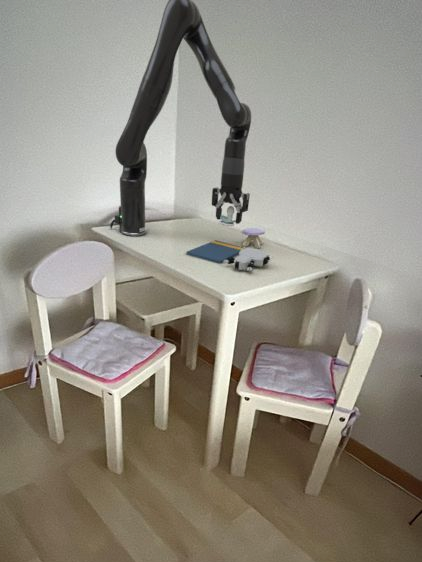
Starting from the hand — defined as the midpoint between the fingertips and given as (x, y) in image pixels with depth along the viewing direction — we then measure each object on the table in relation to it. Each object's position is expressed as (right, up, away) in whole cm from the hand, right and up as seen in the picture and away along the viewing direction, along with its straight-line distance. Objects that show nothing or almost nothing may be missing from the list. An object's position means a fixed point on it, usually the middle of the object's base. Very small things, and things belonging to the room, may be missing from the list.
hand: (228, 221), depth 155 cm
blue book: (-4, -11, +1) cm, 12 cm away
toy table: (+10, -5, +12) cm, 17 cm away
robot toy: (+6, -19, -9) cm, 22 cm away
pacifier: (0, -1, +1) cm, 1 cm away
